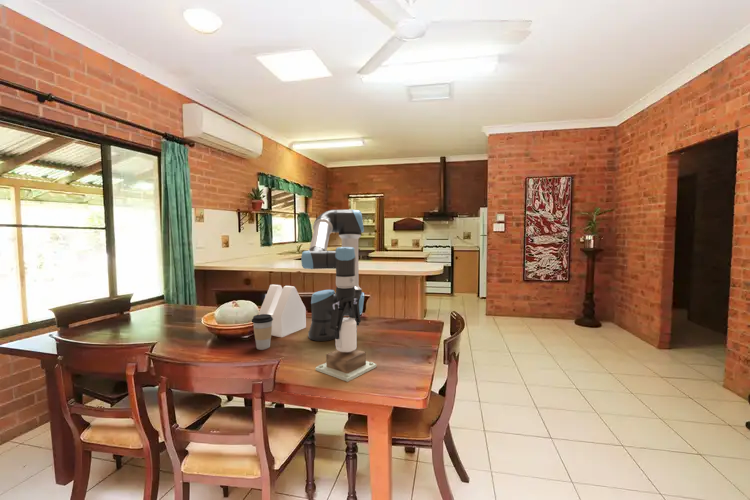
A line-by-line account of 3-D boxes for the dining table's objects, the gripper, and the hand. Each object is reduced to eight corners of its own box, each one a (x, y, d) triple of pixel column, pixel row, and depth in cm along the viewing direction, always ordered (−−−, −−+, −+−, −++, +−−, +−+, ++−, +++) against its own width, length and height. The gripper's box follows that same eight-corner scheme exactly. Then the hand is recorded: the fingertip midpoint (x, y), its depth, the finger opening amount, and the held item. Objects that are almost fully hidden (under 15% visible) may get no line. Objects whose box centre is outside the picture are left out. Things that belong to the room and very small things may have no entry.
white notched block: (284, 325, 200) (283, 282, 198) (306, 328, 193) (305, 284, 191) (259, 334, 183) (258, 287, 181) (281, 338, 176) (280, 289, 174)
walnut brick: (326, 366, 137) (326, 354, 137) (345, 358, 146) (345, 346, 145) (347, 373, 130) (347, 360, 130) (365, 364, 139) (365, 352, 139)
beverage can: (336, 346, 141) (335, 317, 140) (356, 345, 142) (356, 316, 141) (335, 353, 133) (335, 322, 132) (356, 352, 134) (356, 321, 133)
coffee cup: (277, 345, 165) (277, 314, 164) (265, 352, 156) (264, 319, 155) (260, 343, 168) (260, 313, 167) (247, 350, 159) (246, 317, 158)
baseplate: (315, 370, 136) (315, 365, 136) (345, 357, 150) (345, 353, 150) (347, 381, 126) (347, 376, 126) (376, 366, 139) (376, 362, 139)
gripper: (333, 291, 125) (334, 353, 127) (369, 284, 142) (369, 339, 143) (319, 289, 130) (320, 349, 131) (355, 282, 146) (356, 335, 148)
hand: (346, 343), depth 137 cm, fingers closed on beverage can, 8 cm apart
